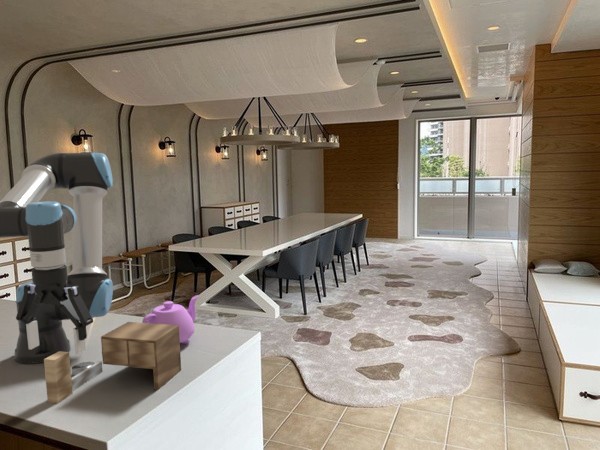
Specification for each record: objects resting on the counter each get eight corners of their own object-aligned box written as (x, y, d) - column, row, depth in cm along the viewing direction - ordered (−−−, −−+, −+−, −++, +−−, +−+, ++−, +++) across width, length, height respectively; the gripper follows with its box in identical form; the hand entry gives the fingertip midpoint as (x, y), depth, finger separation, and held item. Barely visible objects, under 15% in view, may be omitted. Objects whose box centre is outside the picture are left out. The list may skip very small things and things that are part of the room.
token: (67, 378, 128) (66, 369, 128) (83, 369, 134) (83, 360, 134) (85, 380, 126) (84, 371, 126) (100, 371, 132) (100, 362, 132)
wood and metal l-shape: (58, 403, 114) (54, 360, 112) (47, 402, 115) (43, 359, 113) (105, 372, 131) (102, 334, 130) (96, 371, 132) (93, 333, 131)
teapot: (186, 328, 166) (184, 290, 165) (214, 337, 156) (213, 297, 155) (129, 346, 150) (126, 305, 148) (156, 359, 140) (154, 314, 138)
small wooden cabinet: (103, 384, 124) (100, 336, 122) (130, 365, 135) (128, 321, 134) (158, 390, 120) (155, 341, 118) (181, 369, 132) (178, 325, 130)
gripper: (-7, 267, 112) (3, 351, 115) (83, 272, 106) (90, 360, 109) (18, 260, 119) (27, 339, 122) (104, 264, 113) (110, 347, 116)
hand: (57, 349), depth 116 cm, fingers open, 13 cm apart
